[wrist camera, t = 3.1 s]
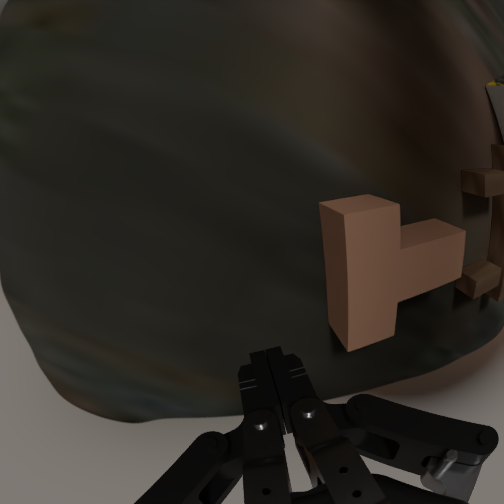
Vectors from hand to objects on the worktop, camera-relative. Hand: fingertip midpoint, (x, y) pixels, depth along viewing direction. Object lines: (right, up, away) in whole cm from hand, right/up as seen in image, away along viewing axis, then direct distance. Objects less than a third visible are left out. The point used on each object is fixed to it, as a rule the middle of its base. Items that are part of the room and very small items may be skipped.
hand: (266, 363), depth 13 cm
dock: (+23, +8, +9) cm, 26 cm away
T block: (+10, +5, +8) cm, 14 cm away
